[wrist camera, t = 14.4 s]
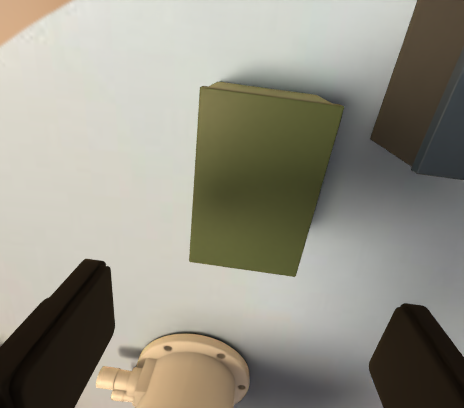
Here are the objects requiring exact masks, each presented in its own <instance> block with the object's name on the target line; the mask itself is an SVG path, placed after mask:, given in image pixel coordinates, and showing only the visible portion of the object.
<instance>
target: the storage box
mask: <svg viewBox="0 0 464 408" xmlns="http://www.w3.org/2000/svg"><path fill="white" fill-rule="evenodd" d="M370 139H371V140H372V141H374V142H375V143H377V144H378V145H380V146H381V147H383V148H384V149H386V150H387V151H389V152H390V153H392V154H393V155H395V156H396V157H398V158H399V159H401V160H402V161H404V162H405V163H407V164H408V165H410V166H411V170H412V171H413V172H415V173H416V174H423V175H430V176H437V177H445V178H452V179H459V180H464V0H418V1H417V4H416V7H415V10H414V13H413V16H412V19H411V22H410V24H409V27H408V30H407V33H406V36H405V39H404V42H403V45H402V48H401V51H400V54H399V56H398V59H397V62H396V65H395V68H394V71H393V74H392V77H391V80H390V83H389V85H388V88H387V91H386V94H385V97H384V100H383V103H382V106H381V109H380V112H379V115H378V117H377V120H376V123H375V126H374V129H373V132H372V135H371V138H370Z"/></svg>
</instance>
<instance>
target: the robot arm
mask: <svg viewBox="0 0 464 408" xmlns="http://www.w3.org/2000/svg"><path fill="white" fill-rule="evenodd" d="M114 329H115V319H114V307H113V294H112V281H111V269H110V267H108V266H106V263H105V262H104V261H99V260H92V259H84V260H83V261H82V262H81V263H80V264H79V266H78V267H77V268H76V269H75V270H74V271H73V272H72V273H71V274H70V275H69V277H68V278H67V279H66V280H65V281H64V282H63V283H62V284H61V285H60V287H59V288H58V289H57V290H56V291H55V292H54V293H53V294H52V295H51V296H50V297H49V298H47V299H45V300H44V301H42V302H41V303H40V304H39V305H38V307H37V308H36V309H35V310H34V311H33V312H32V313H31V314H30V315H29V316H28V317H27V318H26V320H25V321H24V322H23V323H22V324H21V325H20V326H19V327H18V328H17V329H16V330H15V331H14V333H13V334H12V335H11V336H10V337H9V338H8V339H7V340H6V341H5V342H4V343H3V345H2V346H1V347H0V408H74V407H75V405H76V404H77V402H78V400H79V398H80V396H81V394H82V392H83V390H84V388H85V387H86V385H87V383H88V381H89V379H90V377H91V375H92V373H93V372H94V370H95V368H96V366H97V364H98V362H99V360H100V358H101V357H102V355H103V353H104V351H105V349H106V347H107V345H108V343H109V342H110V340H111V338H112V336H113V333H114ZM369 371H370V374H371V377H372V379H373V382H374V385H375V387H376V390H377V392H378V395H379V397H380V400H381V402H382V405H383V407H384V408H464V357H463V356H462V354H461V353H460V352H459V350H458V349H457V347H456V346H455V345H454V343H453V342H452V341H451V339H450V338H449V337H448V335H447V334H446V333H445V331H444V330H443V329H442V327H441V326H440V325H439V323H438V322H437V321H436V319H435V318H434V317H433V315H432V314H431V313H430V311H429V310H428V309H427V308H426V307H424V306H421V305H414V304H407V303H404V304H402V305H401V306H400V307H398V308H396V309H395V311H394V313H393V315H392V317H391V319H390V321H389V323H388V325H387V327H386V329H385V331H384V333H383V335H382V337H381V339H380V341H379V343H378V345H377V347H376V349H375V351H374V354H373V356H372V358H371V360H370V362H369ZM96 387H97V388H104V389H110V390H113V391H112V395H111V400H115V401H122V402H123V401H127V402H133V403H132V405H133V406H135V408H234V405H235V404H236V403H237V402H239V401H240V400H241V399H242V398H243V397H244V396H245V395H246V393H247V391H248V388H249V369H248V366H247V364H246V362H245V360H244V359H243V358H242V356H241V355H240V354H239V353H238V352H237V351H235V350H234V349H233V348H231V347H230V346H229V345H227V344H225V343H223V342H221V341H219V340H216V339H213V338H210V337H207V336H202V335H198V334H173V335H168V336H164V337H161V338H159V339H156V340H154V341H153V342H151V343H150V344H148V345H147V346H146V347H145V348H144V349H143V351H142V353H141V355H140V357H139V359H138V362H137V365H136V368H135V367H134V368H133V370H132V371H128V370H121V369H120V368H114V367H107V366H103V367H102V368H101V370H100V372H99V374H98V377H97V381H96Z"/></svg>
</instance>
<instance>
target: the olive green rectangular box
mask: <svg viewBox="0 0 464 408" xmlns="http://www.w3.org/2000/svg"><path fill="white" fill-rule="evenodd" d="M343 110H344V106H342V105H340V104H332V103H330V102H329V101H327V100H325V99H323V98H321V97H319V96H317V95H314V94H306V93H299V92H291V91H284V90H277V89H269V88H262V87H255V86H247V85H240V84H232V83H225V82H216V83H214V84H212V85H210V86H209V87H207V86H202V87H200V97H199V113H198V129H197V144H196V160H195V176H194V192H193V208H192V224H191V240H190V256H189V261H190V262H195V263H202V264H209V265H216V266H223V267H230V268H237V269H244V270H251V271H258V272H265V273H272V274H279V275H286V276H293V277H295V276H296V273H297V270H298V266H299V263H300V259H301V256H302V252H303V249H304V245H305V242H306V239H307V235H308V232H309V228H310V225H311V221H312V218H313V214H314V211H315V207H316V204H317V200H318V197H319V193H320V190H321V187H322V183H323V180H324V176H325V173H326V169H327V166H328V162H329V159H330V155H331V152H332V148H333V145H334V141H335V138H336V135H337V131H338V128H339V124H340V121H341V117H342V114H343Z"/></svg>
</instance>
